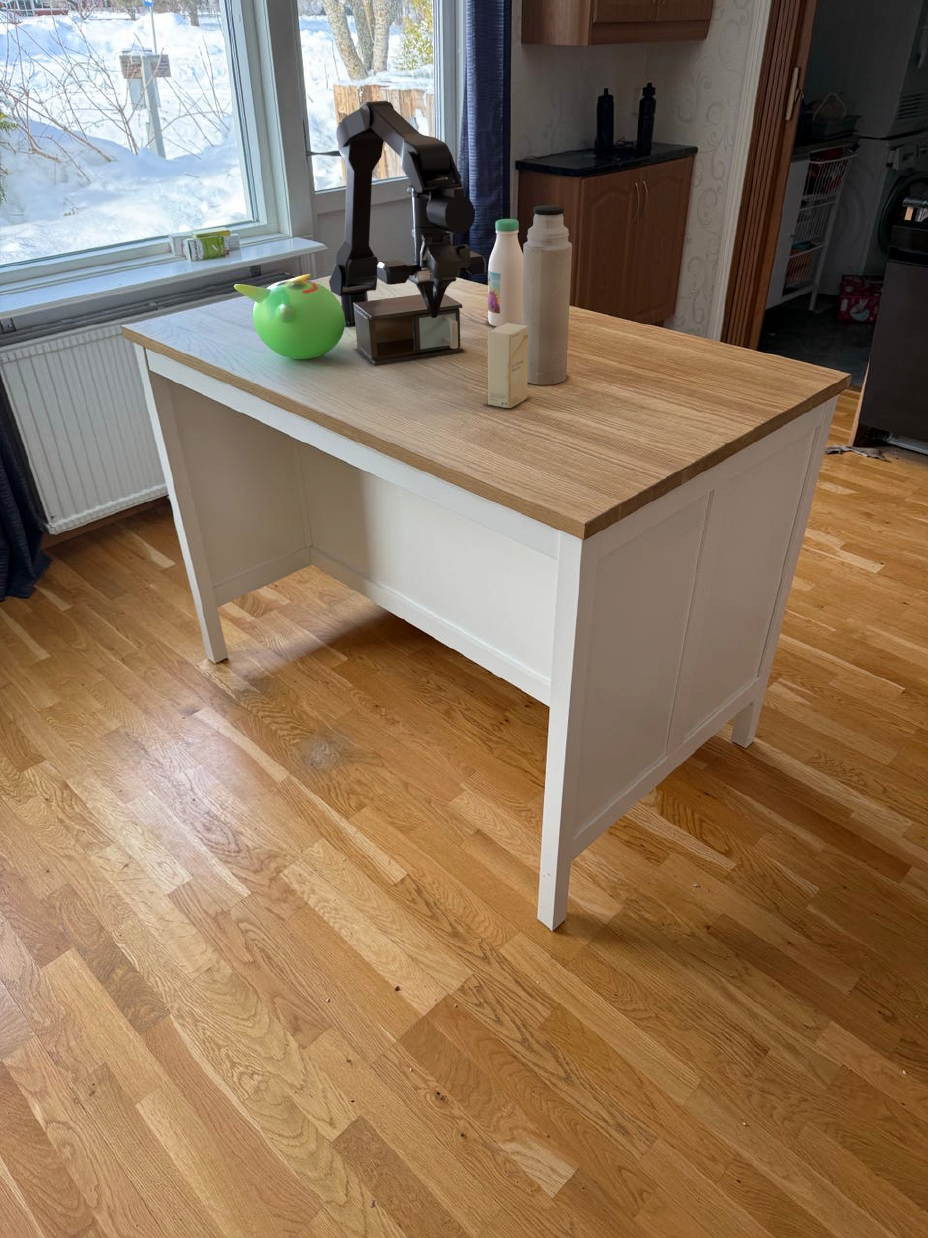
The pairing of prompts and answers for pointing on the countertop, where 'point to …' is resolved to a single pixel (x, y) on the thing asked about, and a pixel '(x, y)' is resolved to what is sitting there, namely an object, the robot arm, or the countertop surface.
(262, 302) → the toy bird
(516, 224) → the milk bottle
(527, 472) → the countertop surface
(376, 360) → the cupboard
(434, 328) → the glass door
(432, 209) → the robot arm
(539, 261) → the thermos bottle
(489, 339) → the cosmetic box
